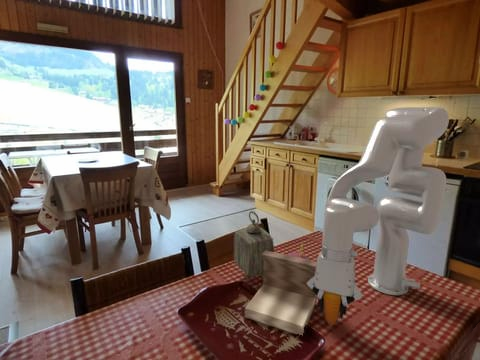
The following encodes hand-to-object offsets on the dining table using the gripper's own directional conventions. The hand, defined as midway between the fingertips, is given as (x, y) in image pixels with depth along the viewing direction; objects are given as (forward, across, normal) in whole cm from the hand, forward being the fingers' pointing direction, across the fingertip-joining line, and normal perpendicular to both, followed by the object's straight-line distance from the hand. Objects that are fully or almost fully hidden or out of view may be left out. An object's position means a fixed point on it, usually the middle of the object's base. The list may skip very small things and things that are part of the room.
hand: (331, 312), depth 83 cm
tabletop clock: (+5, +30, -13) cm, 33 cm away
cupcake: (+5, +17, -25) cm, 31 cm away
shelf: (+4, +14, 0) cm, 15 cm away
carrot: (+5, 0, 0) cm, 5 cm away
